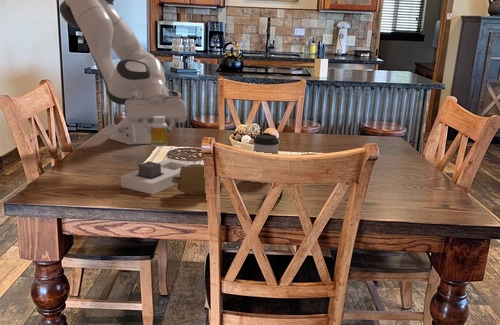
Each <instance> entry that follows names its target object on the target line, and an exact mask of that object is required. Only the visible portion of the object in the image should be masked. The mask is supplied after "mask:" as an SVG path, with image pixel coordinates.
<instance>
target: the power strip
mask: <svg viewBox="0 0 500 325" xmlns="http://www.w3.org/2000/svg"><path fill="white" fill-rule="evenodd" d="M192 164H195V163H193V162H189V161H182V160H179V159H174V158H167V159H165V160H162V161H159V162H153V161H146V162H142V163H139V164H137V165H138V170H134V171H132V172H128V173H125V174H123V175H121V176H120V187H121V188H125V189H129V190H134V191H137V192H141V193H144V194H145V193H146V194H150V195H155V194H157V193H159V192H161V191H164V190H167V189H169V188H171V187H173V186H175V185H178V183H173V182H172V179H173V177H180V170H181V167H186V166H188V165H192Z"/></svg>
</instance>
